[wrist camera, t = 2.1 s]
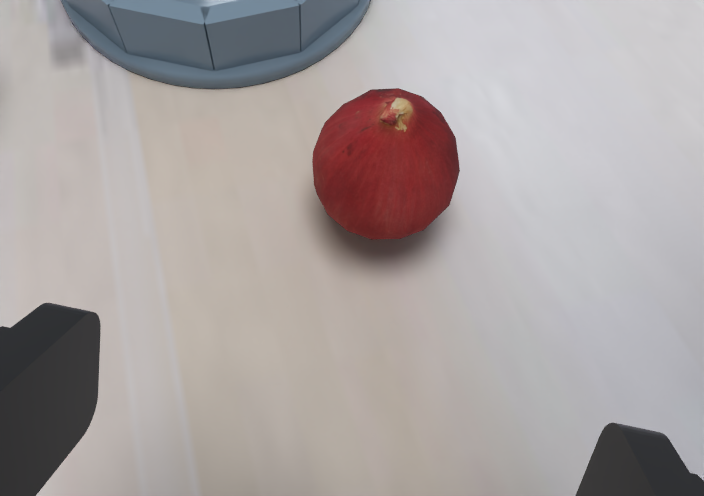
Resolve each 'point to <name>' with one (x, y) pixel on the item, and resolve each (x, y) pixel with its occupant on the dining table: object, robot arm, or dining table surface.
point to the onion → (385, 164)
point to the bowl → (215, 36)
